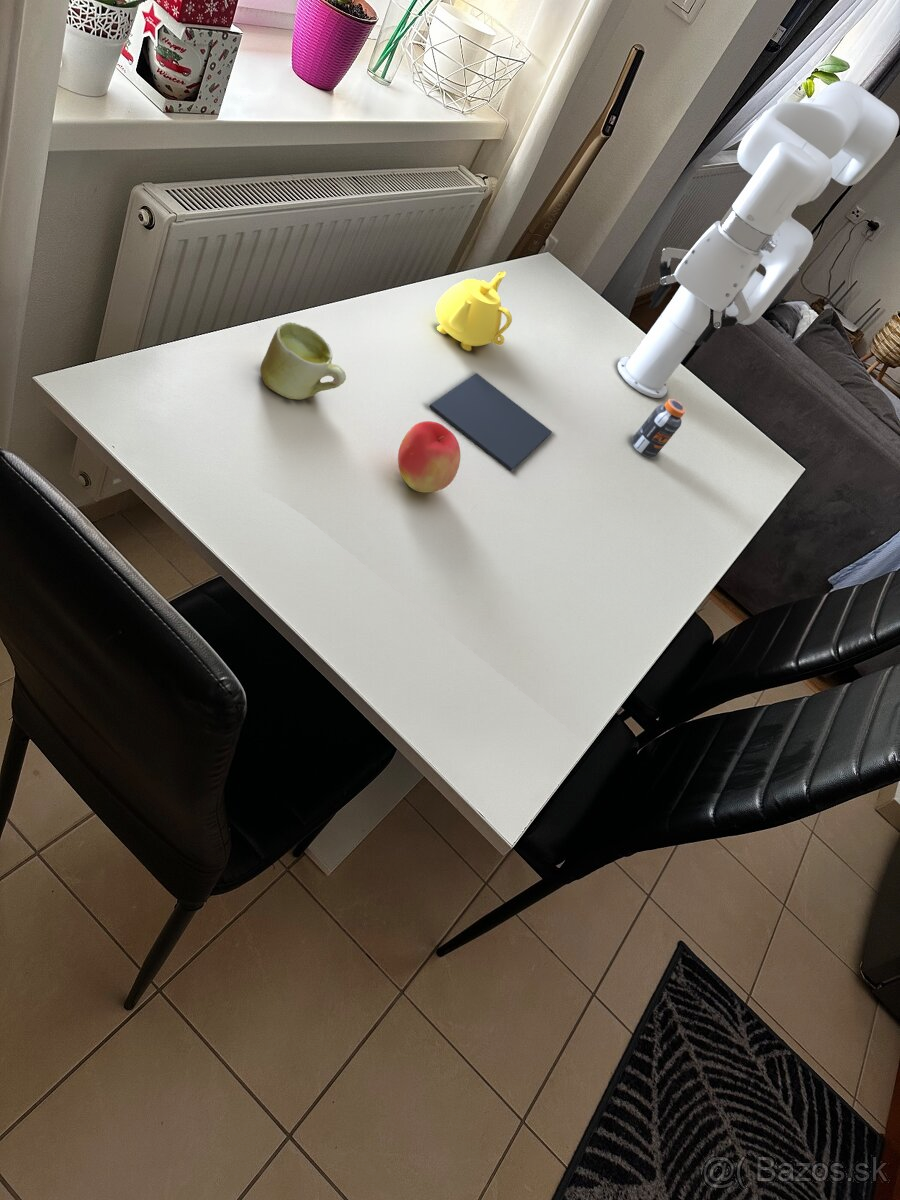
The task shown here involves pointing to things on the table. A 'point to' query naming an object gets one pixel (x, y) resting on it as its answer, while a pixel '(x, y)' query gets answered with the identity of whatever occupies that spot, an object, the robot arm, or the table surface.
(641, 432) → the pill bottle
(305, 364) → the mug
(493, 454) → the mat
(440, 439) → the apple
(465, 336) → the teapot
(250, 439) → the table surface
